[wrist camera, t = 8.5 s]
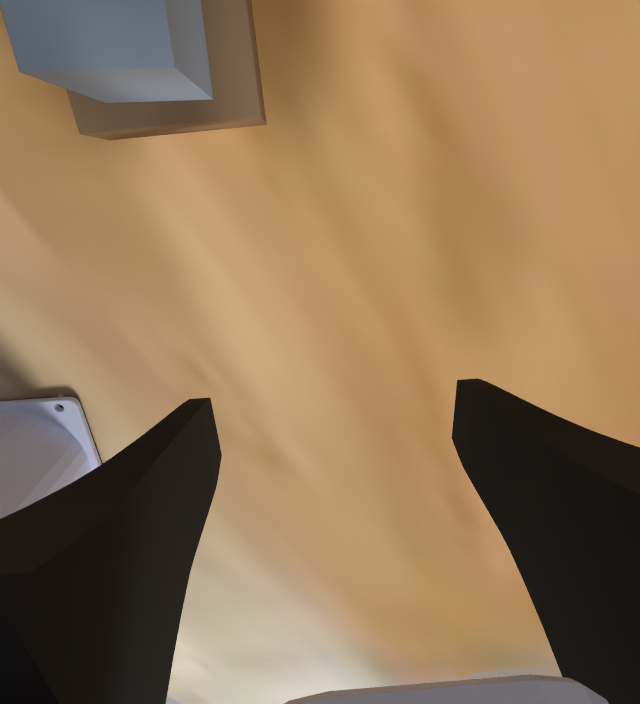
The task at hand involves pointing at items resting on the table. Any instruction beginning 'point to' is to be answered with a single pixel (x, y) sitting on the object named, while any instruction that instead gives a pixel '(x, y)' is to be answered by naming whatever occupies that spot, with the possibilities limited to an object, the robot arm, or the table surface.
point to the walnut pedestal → (192, 115)
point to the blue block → (113, 47)
